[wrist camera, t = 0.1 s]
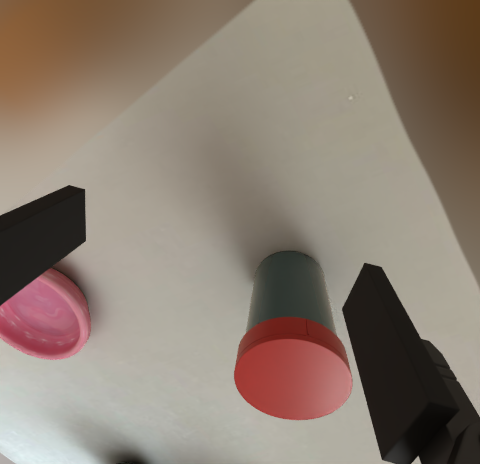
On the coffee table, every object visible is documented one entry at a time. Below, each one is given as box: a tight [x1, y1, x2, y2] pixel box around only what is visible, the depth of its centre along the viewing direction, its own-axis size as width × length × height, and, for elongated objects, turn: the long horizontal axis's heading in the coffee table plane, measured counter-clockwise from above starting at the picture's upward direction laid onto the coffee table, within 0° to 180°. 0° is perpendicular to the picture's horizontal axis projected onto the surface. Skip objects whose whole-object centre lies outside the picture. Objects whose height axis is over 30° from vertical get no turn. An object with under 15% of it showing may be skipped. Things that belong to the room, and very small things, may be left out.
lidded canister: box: [246, 251, 337, 336], centre depth 24 cm, size 7×7×11 cm
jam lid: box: [234, 317, 352, 420], centre depth 19 cm, size 7×7×2 cm
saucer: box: [0, 268, 91, 360], centre depth 32 cm, size 12×12×3 cm
